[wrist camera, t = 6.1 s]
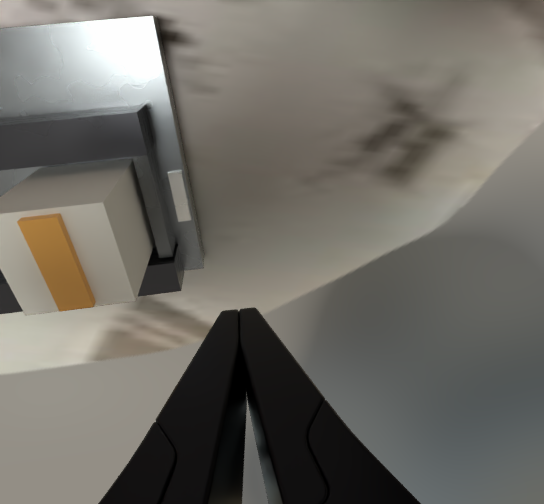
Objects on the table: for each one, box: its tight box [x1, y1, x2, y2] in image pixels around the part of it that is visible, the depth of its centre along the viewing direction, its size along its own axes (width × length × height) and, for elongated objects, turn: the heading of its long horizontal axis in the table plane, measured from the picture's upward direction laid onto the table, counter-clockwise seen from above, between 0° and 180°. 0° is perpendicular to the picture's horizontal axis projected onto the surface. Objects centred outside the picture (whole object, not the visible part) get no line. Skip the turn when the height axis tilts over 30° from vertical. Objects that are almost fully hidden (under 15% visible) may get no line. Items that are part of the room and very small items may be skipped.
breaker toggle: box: [0, 158, 155, 316], centre depth 15 cm, size 4×4×5 cm
